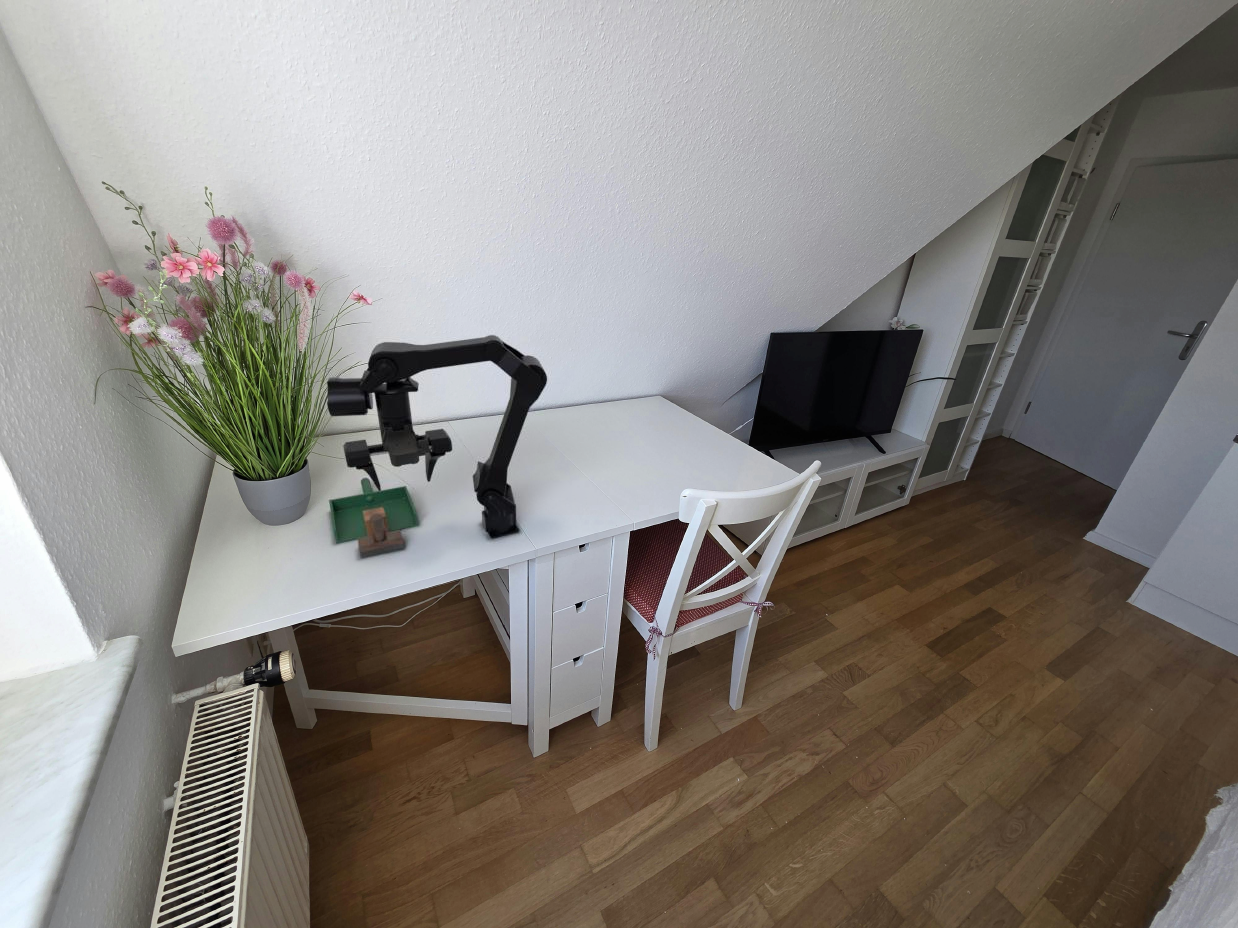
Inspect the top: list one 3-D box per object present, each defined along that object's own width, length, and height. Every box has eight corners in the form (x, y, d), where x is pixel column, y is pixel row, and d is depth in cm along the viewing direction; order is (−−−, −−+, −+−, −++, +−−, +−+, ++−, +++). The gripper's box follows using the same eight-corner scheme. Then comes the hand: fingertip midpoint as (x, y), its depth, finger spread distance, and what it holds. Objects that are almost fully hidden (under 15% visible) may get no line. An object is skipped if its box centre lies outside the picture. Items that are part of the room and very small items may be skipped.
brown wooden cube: (388, 531, 109) (385, 522, 112) (385, 516, 107) (383, 506, 110) (367, 536, 107) (365, 526, 110) (364, 520, 105) (362, 510, 108)
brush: (402, 541, 107) (397, 509, 103) (404, 549, 105) (399, 517, 101) (360, 549, 104) (353, 517, 100) (360, 558, 101) (354, 525, 97)
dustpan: (418, 525, 112) (416, 513, 111) (336, 543, 105) (333, 530, 103) (401, 480, 128) (399, 468, 127) (329, 492, 121) (326, 480, 119)
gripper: (342, 438, 84) (357, 516, 92) (456, 422, 93) (462, 495, 101) (336, 413, 93) (351, 486, 100) (442, 401, 102) (448, 469, 109)
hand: (404, 485), depth 102 cm, fingers open, 9 cm apart
